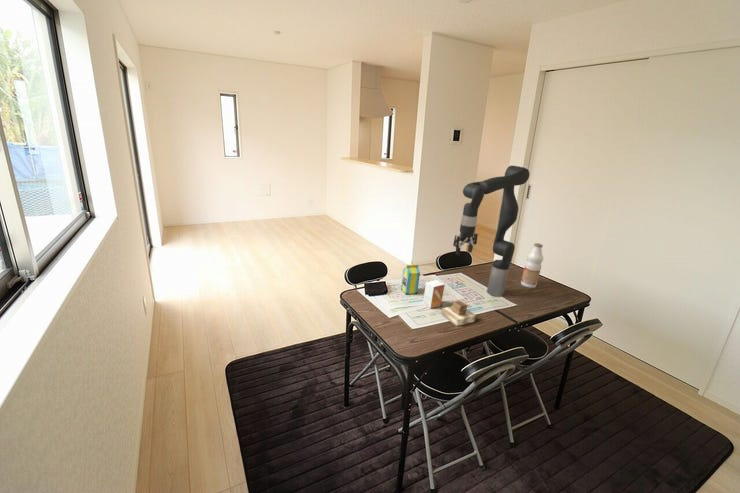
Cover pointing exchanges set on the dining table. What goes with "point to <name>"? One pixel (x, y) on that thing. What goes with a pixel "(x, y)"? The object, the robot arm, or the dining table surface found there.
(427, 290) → the small box
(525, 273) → the fruit juice
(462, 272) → the dining table surface
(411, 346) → the dining table surface
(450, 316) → the beige square plate
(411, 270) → the carton
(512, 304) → the dining table surface
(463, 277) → the dining table surface
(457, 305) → the walnut cube
